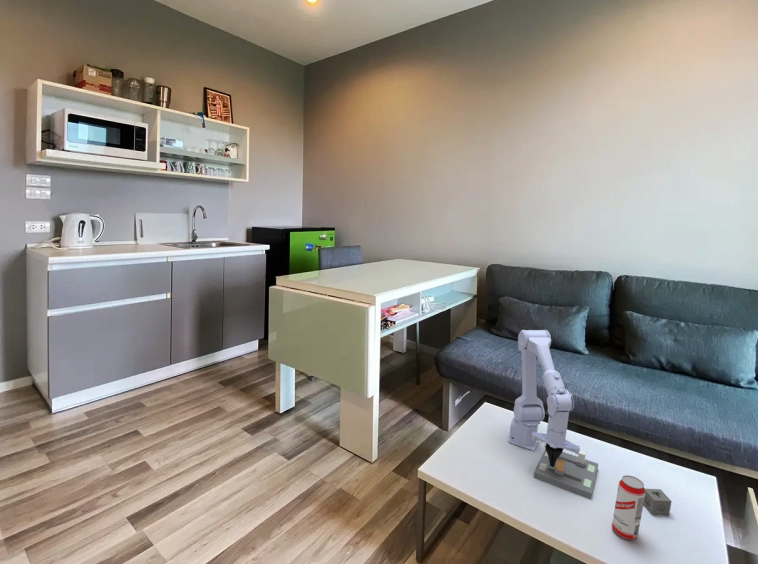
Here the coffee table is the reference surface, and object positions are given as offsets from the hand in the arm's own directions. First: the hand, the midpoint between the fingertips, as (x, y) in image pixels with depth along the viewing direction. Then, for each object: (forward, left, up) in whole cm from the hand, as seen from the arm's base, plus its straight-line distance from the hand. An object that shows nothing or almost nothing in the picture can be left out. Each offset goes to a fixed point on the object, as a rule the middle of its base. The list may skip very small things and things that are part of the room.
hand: (552, 465), depth 135 cm
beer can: (+22, -13, -4) cm, 26 cm away
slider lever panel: (+4, +5, -4) cm, 7 cm away
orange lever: (+2, 0, -2) cm, 3 cm away
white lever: (+7, +9, -2) cm, 12 cm away
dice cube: (+29, +3, -4) cm, 29 cm away
